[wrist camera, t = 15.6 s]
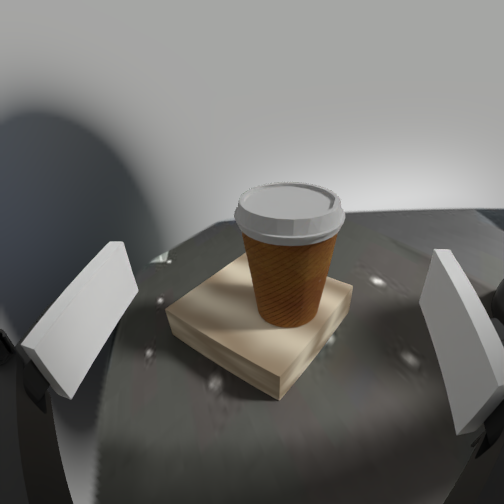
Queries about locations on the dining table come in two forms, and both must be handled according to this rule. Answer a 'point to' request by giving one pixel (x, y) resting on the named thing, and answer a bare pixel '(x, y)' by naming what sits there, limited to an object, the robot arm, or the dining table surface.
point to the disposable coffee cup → (289, 247)
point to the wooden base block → (253, 329)
